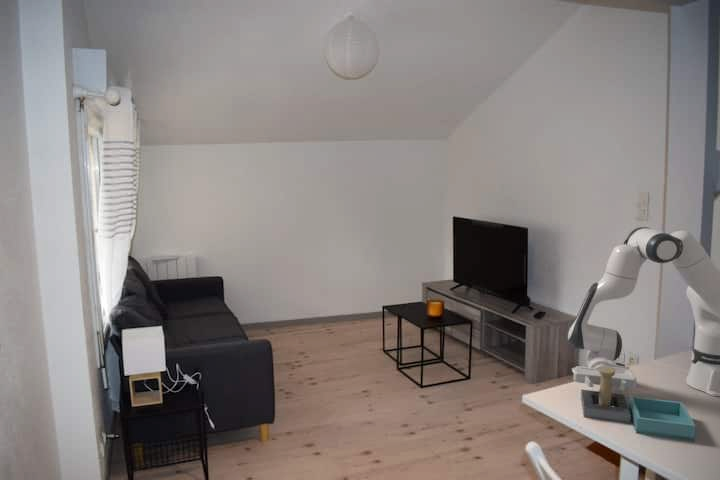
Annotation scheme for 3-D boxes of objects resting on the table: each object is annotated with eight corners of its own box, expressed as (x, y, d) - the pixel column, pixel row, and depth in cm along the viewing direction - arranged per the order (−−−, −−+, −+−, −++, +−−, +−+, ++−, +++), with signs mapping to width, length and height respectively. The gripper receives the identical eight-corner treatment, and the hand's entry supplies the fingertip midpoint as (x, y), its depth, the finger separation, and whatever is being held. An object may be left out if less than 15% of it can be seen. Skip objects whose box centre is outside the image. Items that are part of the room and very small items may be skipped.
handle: (613, 408, 185) (616, 367, 183) (609, 416, 180) (612, 374, 177) (598, 404, 188) (601, 364, 185) (594, 412, 183) (597, 370, 180)
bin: (681, 416, 179) (682, 402, 178) (693, 441, 164) (695, 426, 163) (628, 409, 184) (629, 396, 183) (636, 432, 169) (637, 418, 168)
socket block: (623, 403, 188) (624, 394, 188) (629, 423, 175) (630, 413, 175) (580, 398, 193) (581, 389, 192) (583, 416, 180) (584, 407, 179)
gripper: (571, 359, 197) (573, 374, 184) (633, 365, 191) (639, 381, 178) (570, 375, 198) (572, 391, 185) (631, 382, 192) (638, 399, 179)
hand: (606, 386), depth 182 cm, fingers open, 8 cm apart
